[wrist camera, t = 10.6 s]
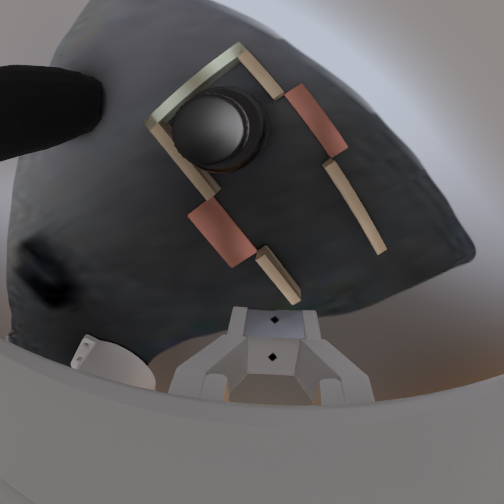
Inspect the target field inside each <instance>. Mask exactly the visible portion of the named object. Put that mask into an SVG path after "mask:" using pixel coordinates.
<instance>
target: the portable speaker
mask: <svg viewBox="0 0 504 504" xmlns="http://www.w3.org/2000/svg"><path fill="white" fill-rule="evenodd" d="M79 73H80V72H75V71H70V70H66V69H62V68H57V67H45V66H31V65H8V66H1V67H0V161H4V160H7V159H10V158H14V157H17V156H21V155H25V154H29V153H33V152H37V151H41V150H45V149H48V148H51V147H54V146H56V145H59V144H62V143H64V142H66V141H69V140H71V139H74V138H76V137H78V136H80V135H83V134H85V133H88V132H90V131H92V130H93V129H94V127H95V126H96V125H97V123H98V122H99V121H100V119H101V115H100V106H101V90H102V85H101V82H99V81H98V80H96V79H94V78H93V77H88V76H86V75H82V73H80V74H79Z"/></svg>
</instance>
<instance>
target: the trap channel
mask: <svg viewBox="0 0 504 504" xmlns="http://www.w3.org/2000/svg"><path fill="white" fill-rule="evenodd" d="M239 63H242V65H243V66H244V67H245V68H246V69H247V70H248V71H249V72H250V74H251V75H252V76H253V77H254V78H255V79H256V80H257V82H258V83H259V84H260V85H261V86H262V87H263V89H264V90H265V91H266V92H267V93H268V95H269V96H270V97H271V98H272V99H273V101H276V100H277V99H279V98H280V97H282V96H283V95H284V96H285V97H286V98H287V99H288V101H289V102H290V103H291V105H292V106H293V107H294V108H295V110H296V111H297V112H298V113H299V115H300V116H301V117H302V119H303V120H304V121H305V123H306V124H307V125H308V127H309V128H310V129H311V131H312V132H313V134H314V135H315V136H316V138H317V139H318V141H319V142H320V143H321V145H322V146H323V148H324V149H325V151H326V152H327V153H328V155H329V156H330V159H329V160H327V161H326V162H324V163H323V164H321V165H322V166H323V168H324V169H325V171H326V172H327V174H328V175H329V177H330V178H331V180H332V181H333V183H334V184H335V186H336V187H337V189H338V190H339V192H340V193H341V195H342V197H343V198H344V200H345V201H346V203H347V204H348V206H349V208H350V209H351V211H352V213H353V214H354V216H355V218H356V219H357V221H358V223H359V224H360V226H361V228H362V229H363V231H364V233H365V235H366V236H367V238H368V240H369V242H370V243H371V245H372V247H373V248H374V250H375V251H376V253H377V254H378V255H379V254H380V253H382V252H383V251H385V250H387V248H386V246H385V244H384V243H383V241H382V239H381V237H380V235H379V233H378V231H377V229H376V228H375V226H374V224H373V222H372V220H371V219H370V217H369V215H368V213H367V212H366V210H365V208H364V207H363V205H362V203H361V201H360V200H359V198H358V196H357V195H356V193H355V191H354V190H353V188H352V187H351V185H350V183H349V182H348V180H347V179H346V177H345V175H344V174H343V172H342V171H341V169H340V168H339V166H338V165H337V163H336V162H335V161H334V160H333V159H331V158H333V157H334V156H336V155H337V154H339V153H340V152H342V151H343V150H345V149H346V148H348V146H347V144H346V143H345V141H344V140H343V138H342V137H341V135H340V134H339V132H338V131H337V129H336V128H335V127H334V125H333V124H332V122H331V121H330V120H329V118H328V117H327V115H326V114H325V113H324V111H323V110H322V109H321V107H320V106H319V105H318V103H317V102H316V101H315V99H314V98H313V97H312V95H311V94H310V93H309V92H308V90H307V89H306V88H305V87H304V85H303V84H302V83H301V84H299V85H298V86H296V87H295V88H293V89H292V90H290V91H289V92H287V93H286V94H284V91H283V90H282V89H281V88H280V86H279V85H278V84H277V83H276V82H275V80H274V79H273V78H272V77H271V76H270V75H269V73H268V72H267V71H266V70H265V69H264V68H263V67H262V65H261V64H260V63H259V62H258V61H257V60H256V59H255V58H254V57H253V56H252V54H251V53H250V52H249V51H248V50H247V49H246V48H245V47H244V46H243V45H242V44H241V43H240V42H238V43H236V44H235V45H234V46H232V47H231V48H229V49H228V50H227V51H225V52H224V53H222V54H221V55H220V56H218V57H217V58H216V59H214V60H213V61H212V62H211V63H209V64H208V65H207V66H205V67H204V68H203V69H202V70H200V71H199V72H198V73H197V74H195V75H194V76H193V77H192V78H191V79H189V80H188V81H187V82H186V83H185V84H184V85H182V86H181V87H180V88H179V89H178V90H177V91H176V92H174V93H173V94H172V95H171V96H170V97H169V98H168V99H167V100H166V101H165V102H164V103H162V104H161V105H160V106H159V107H158V108H157V109H156V110H155V111H154V112H153V113H152V114H151V115H150V116H149V117H148V118H147V119H146V120H145V121H144V122H143V123H144V124H145V125H146V127H147V128H148V129H149V130H150V132H151V133H152V134H153V135H154V136H155V138H156V139H157V140H158V141H159V143H160V144H161V145H162V146H163V148H164V149H165V150H166V151H167V152H168V154H169V155H170V156H171V157H172V159H173V160H174V161H175V162H176V164H177V165H178V166H179V167H180V168H181V170H182V171H183V172H184V173H185V175H186V176H187V177H188V178H189V179H190V181H191V182H192V183H193V184H194V186H195V187H196V188H197V189H198V191H199V192H200V193H201V194H202V195H203V197H204V198H205V199H206V201H205V202H203V203H202V204H201V205H200V206H198V207H197V208H196V209H195V210H193V211H192V212H191V213H190V214H189V215H187V216H188V217H189V219H190V220H191V221H192V222H193V223H194V225H195V226H196V227H197V228H198V229H199V231H200V232H201V233H202V234H203V235H204V236H205V238H206V239H207V240H208V241H209V242H210V244H211V245H212V246H213V247H214V248H215V249H216V251H217V252H218V253H219V254H220V255H221V256H222V258H223V259H224V260H225V261H226V262H227V264H228V265H229V266H230V267H231V268H233V267H234V266H236V265H238V264H239V263H241V262H242V261H244V260H245V259H247V258H248V257H250V256H251V255H253V254H255V253H256V252H257V256H256V261H257V263H258V264H259V265H260V266H261V268H262V269H263V270H264V271H265V272H266V274H267V275H268V276H269V277H270V279H271V280H272V281H273V282H274V283H275V285H276V286H277V287H278V288H279V290H280V291H281V292H282V293H283V294H284V296H285V297H286V298H287V299H288V300H289V302H290V303H291V304H292V305H294V304H296V303H297V302H299V301H301V291H300V287H299V286H298V285H297V284H296V282H295V281H294V280H293V278H292V277H291V276H290V275H289V273H288V272H287V271H286V269H285V268H284V267H283V266H282V264H281V263H280V262H279V261H278V259H277V258H276V257H275V255H274V254H273V253H272V252H271V250H270V249H269V248H268V246H267V245H265V246H264V247H262V248H261V249H259V250H257V249H256V248H255V246H254V245H253V244H252V243H251V241H250V240H249V239H248V238H247V237H246V235H245V234H244V233H243V232H242V230H241V229H240V228H239V227H238V225H237V224H236V223H235V222H234V220H233V219H232V218H231V217H230V215H229V214H228V213H227V212H226V211H225V209H224V208H223V207H222V206H221V204H220V203H219V202H218V201H217V199H216V198H215V197H214V195H215V194H216V193H217V192H218V191H219V190H220V189H221V187H220V186H219V185H218V184H217V182H216V181H215V180H214V179H213V178H212V176H211V175H210V174H209V173H208V171H204V170H202V169H200V168H198V167H196V166H195V165H193V164H192V163H191V162H188V161H187V159H185V158H183V157H182V155H181V154H180V153H178V151H177V148H175V147H174V142H173V141H172V134H171V131H172V127H171V126H170V125H169V124H168V121H170V120H171V119H172V118H173V117H174V116H175V115H176V112H177V111H178V110H179V108H180V106H182V105H184V103H185V102H186V101H188V100H189V99H190V98H191V97H193V96H194V95H195V94H197V93H198V92H200V91H202V90H204V89H207V88H208V87H209V86H210V85H212V84H213V83H214V82H215V81H217V80H218V79H219V78H221V77H222V76H223V75H224V74H226V73H227V72H228V71H230V70H231V69H233V68H234V67H235V66H237V65H238V64H239Z"/></svg>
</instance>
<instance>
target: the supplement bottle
mask: <svg viewBox="0 0 504 504" xmlns="http://www.w3.org/2000/svg"><path fill="white" fill-rule="evenodd" d="M171 134H172V141H173V142H174V147H175V148H177V151H178V153H180V154H181V155H182V157H183V158H185V159H187V161H188V162H191V163H192V164H193V165H195V166H196V167H198V168H200V169H202V170H204V171H208V172H212V173H228V172H233V171H236V170H238V169H241V168H243V167H244V166H246V165H247V164H249V163H250V162H251V161H252V160H254V158H255V157H256V156H257V155H258V154H259V153H260V152H261V151H262V149H263V148H264V147H265V145H266V143H267V141H268V138H269V134H270V123H269V119H268V116H267V114H266V112H265V111H264V109H263V108H262V107H261V106H260V104H259V103H258V102H257V101H256V100H255V99H254V98H253V97H252V96H250V95H249V94H248V93H246V92H244V91H242V90H240V89H237V88H234V87H230V86H214V87H210V88H207V89H204V90H202V91H200V92H198V93H197V94H195V95H194V96H193V97H191V98H190V99H189V100H188V101H186V102H185V103H184V105H182V106H180V108H179V110H178V111H177V112H176V115H175V117H174V118H173V124H172V131H171Z"/></svg>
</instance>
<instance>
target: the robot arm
mask: <svg viewBox="0 0 504 504" xmlns="http://www.w3.org/2000/svg"><path fill="white" fill-rule="evenodd" d="M71 367H72V368H71ZM71 367H68V366H65V365H63V364H60V363H57V362H54V361H52V360H49V359H47V358H44V357H42V356H39V355H37V354H34V353H32V352H30V351H28V350H25V349H23V348H21V347H19V346H16V345H14V344H12V343H10V342H8V341H6V340H4V339H2V338H0V504H504V374H503V375H500V376H497V377H494V378H490V379H487V380H484V381H480V382H477V383H473V384H470V385H466V386H462V387H458V388H454V389H450V390H445V391H441V392H436V393H431V394H427V395H421V396H415V397H409V398H402V399H395V400H387V401H379V402H375V400H374V396H373V392H372V389H371V385H370V381H369V378H368V376H367V375H366V374H365V373H364V372H362V371H361V370H360V369H359V368H358V367H357V366H355V365H354V364H353V363H352V362H351V361H350V360H348V359H347V358H346V357H345V356H344V355H343V354H341V353H340V352H339V351H338V350H337V349H336V348H335V347H333V346H332V345H331V344H330V343H329V342H328V341H326V340H322V339H321V335H320V329H319V323H318V318H317V313H316V311H315V310H302V311H292V310H274V309H260V308H247V307H234V308H233V310H232V314H231V319H230V323H229V328H228V332H227V335H222V336H220V337H219V338H218V339H216V340H215V341H214V342H212V343H211V344H209V345H208V346H207V347H205V348H204V349H202V350H201V351H200V352H198V353H197V354H195V355H194V356H193V357H191V358H190V359H188V360H187V361H185V362H184V363H183V364H181V365H180V366H179V367H177V369H176V371H175V374H174V377H173V380H172V382H171V385H170V388H169V391H168V393H165V392H160V391H156V389H155V386H156V380H155V377H154V375H153V373H152V372H151V370H150V369H149V367H148V366H147V365H146V364H145V363H144V362H143V361H142V360H141V359H140V358H138V357H137V356H136V355H134V354H133V353H132V352H130V351H128V350H127V349H125V348H123V347H121V346H119V345H116V344H114V343H110V342H106V341H101V340H98V339H96V338H95V337H93V336H91V335H88V334H86V335H85V336H84V338H83V339H82V341H81V343H80V345H79V347H78V349H77V351H76V353H75V355H74V357H73V359H72V361H71ZM247 373H254V374H277V375H294V377H295V378H296V380H297V381H298V382H299V384H300V385H301V386H302V388H303V389H304V390H305V392H306V393H307V395H308V396H309V397H310V398H311V400H312V401H313V404H312V406H292V405H263V404H248V403H235V402H229V393H230V392H231V391H232V390H233V389H234V388H235V387H236V386H237V385H238V384H239V383H240V382H241V381H242V379H243V378H244V377H245V376H246V375H247Z"/></svg>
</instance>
